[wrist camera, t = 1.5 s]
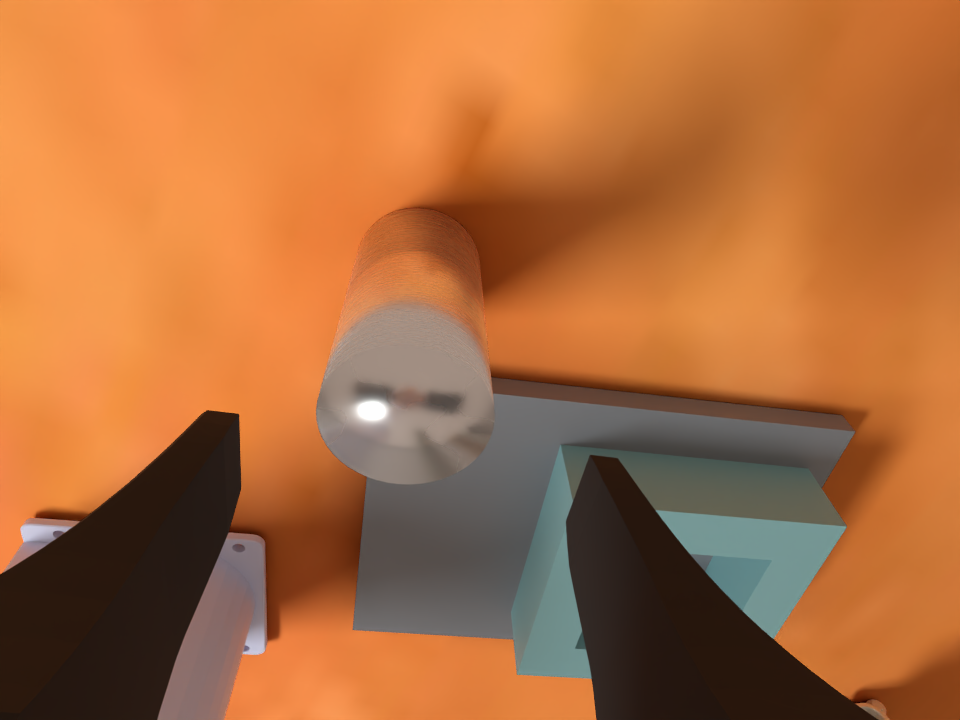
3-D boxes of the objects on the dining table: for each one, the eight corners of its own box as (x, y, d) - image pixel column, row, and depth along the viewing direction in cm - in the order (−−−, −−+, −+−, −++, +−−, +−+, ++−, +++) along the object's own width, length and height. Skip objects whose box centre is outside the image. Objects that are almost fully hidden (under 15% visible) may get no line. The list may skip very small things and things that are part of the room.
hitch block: (355, 611, 31) (344, 693, 28) (378, 365, 24) (367, 437, 20) (716, 633, 33) (746, 712, 30) (842, 415, 26) (900, 488, 23)
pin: (353, 312, 22) (314, 477, 16) (360, 199, 20) (318, 333, 14) (469, 326, 23) (479, 491, 16) (488, 217, 21) (509, 355, 14)
